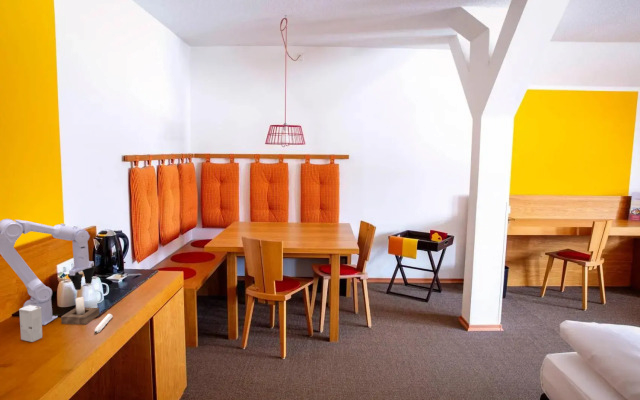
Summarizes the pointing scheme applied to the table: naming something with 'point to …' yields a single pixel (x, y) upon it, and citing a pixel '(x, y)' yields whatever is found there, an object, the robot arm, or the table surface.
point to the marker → (103, 323)
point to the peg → (80, 306)
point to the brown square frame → (80, 316)
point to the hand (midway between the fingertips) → (83, 286)
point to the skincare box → (30, 323)
